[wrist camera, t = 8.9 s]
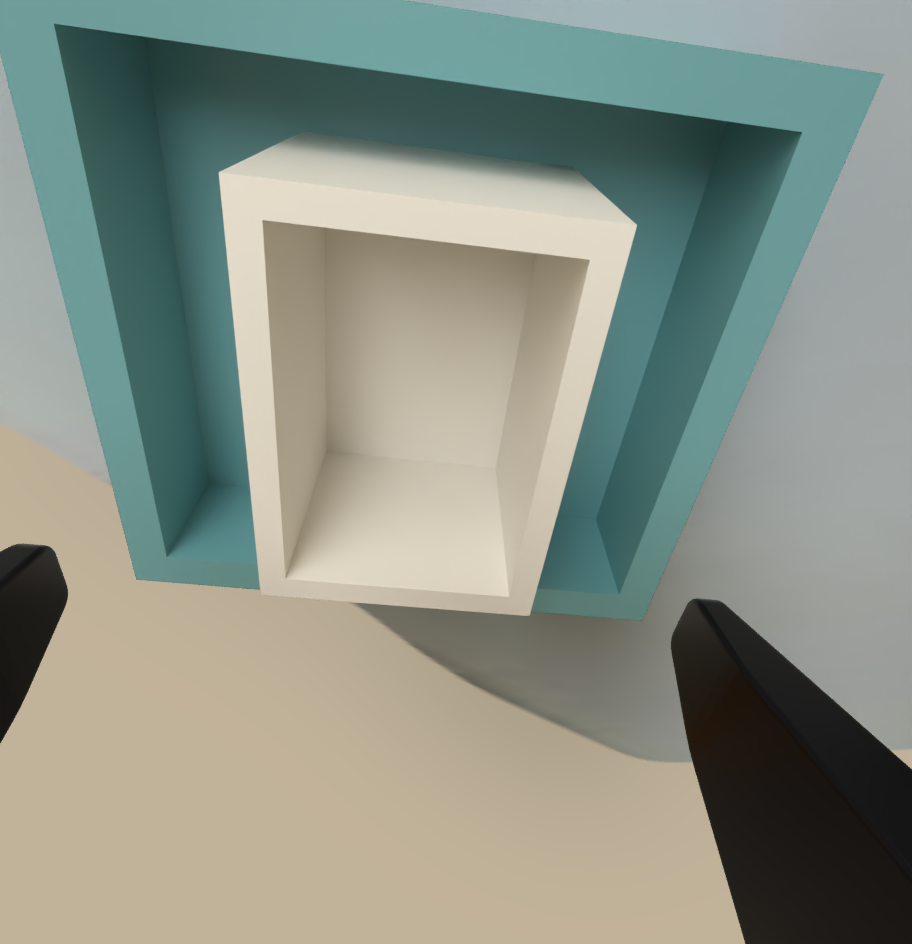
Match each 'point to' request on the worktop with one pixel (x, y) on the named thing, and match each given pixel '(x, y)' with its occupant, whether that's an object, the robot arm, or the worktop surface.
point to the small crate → (413, 363)
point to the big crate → (428, 126)
